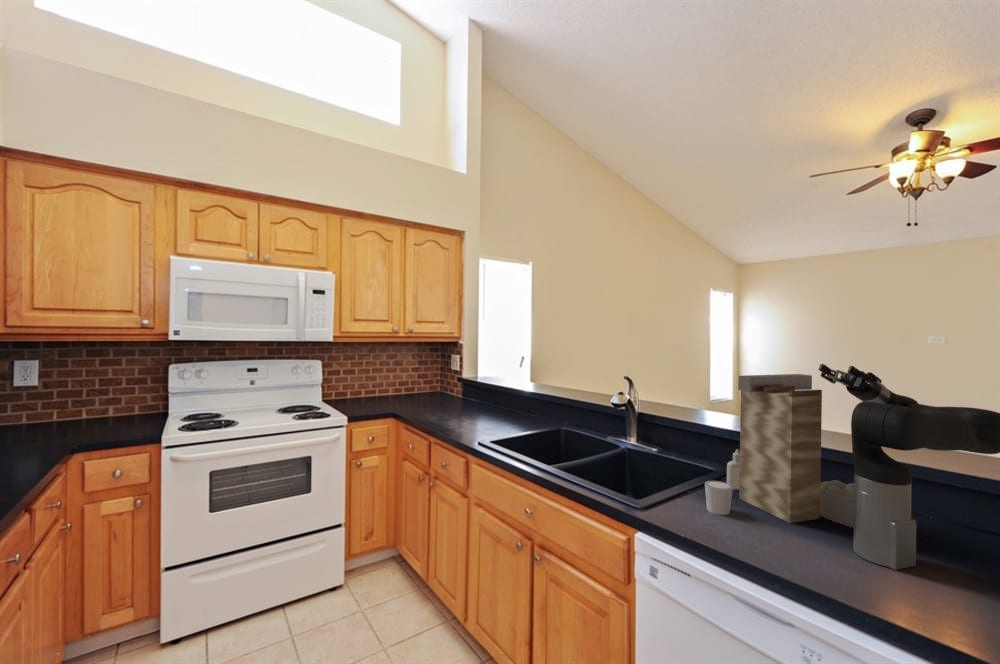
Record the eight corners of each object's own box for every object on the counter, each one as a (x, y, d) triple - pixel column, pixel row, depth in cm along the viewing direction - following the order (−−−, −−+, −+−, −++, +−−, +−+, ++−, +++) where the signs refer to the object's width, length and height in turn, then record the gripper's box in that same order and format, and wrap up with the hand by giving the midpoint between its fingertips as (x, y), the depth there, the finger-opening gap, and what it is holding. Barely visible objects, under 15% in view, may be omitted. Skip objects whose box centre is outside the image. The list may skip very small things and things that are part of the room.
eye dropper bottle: (747, 492, 130) (748, 452, 130) (726, 488, 133) (727, 450, 132) (746, 487, 134) (747, 448, 134) (726, 484, 136) (726, 446, 136)
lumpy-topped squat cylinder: (858, 531, 105) (859, 496, 105) (805, 510, 118) (805, 478, 117) (886, 525, 109) (886, 491, 109) (831, 505, 121) (831, 474, 121)
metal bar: (811, 389, 124) (811, 375, 124) (750, 391, 118) (750, 377, 118) (798, 387, 128) (798, 374, 128) (738, 389, 122) (738, 375, 122)
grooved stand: (820, 518, 112) (821, 390, 112) (790, 522, 109) (791, 391, 109) (766, 495, 128) (768, 382, 127) (739, 498, 125) (740, 383, 125)
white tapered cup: (730, 518, 112) (730, 491, 112) (701, 511, 116) (701, 485, 116) (734, 509, 117) (735, 483, 117) (707, 503, 122) (707, 478, 122)
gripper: (890, 404, 128) (856, 381, 124) (840, 397, 141) (807, 376, 137) (898, 381, 129) (864, 357, 125) (847, 377, 142) (815, 355, 138)
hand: (834, 367), depth 131 cm, fingers open, 8 cm apart
